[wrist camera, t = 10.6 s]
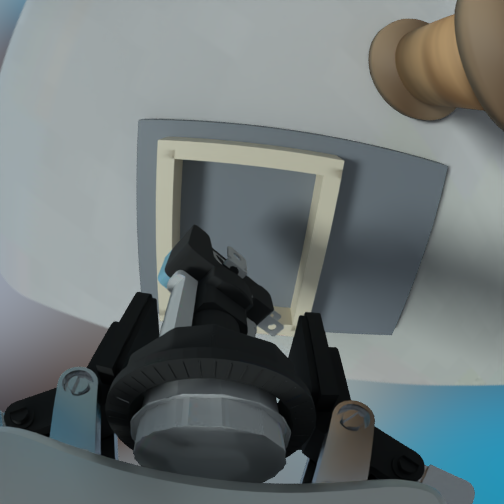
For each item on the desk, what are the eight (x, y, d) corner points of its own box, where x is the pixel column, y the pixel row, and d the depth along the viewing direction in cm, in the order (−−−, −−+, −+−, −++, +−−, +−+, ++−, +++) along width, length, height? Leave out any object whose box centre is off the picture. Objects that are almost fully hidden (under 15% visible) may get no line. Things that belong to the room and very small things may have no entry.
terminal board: (439, 162, 18) (463, 173, 15) (387, 326, 24) (399, 351, 22) (145, 118, 18) (125, 121, 15) (147, 302, 24) (134, 326, 21)
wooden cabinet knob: (460, 43, 14) (572, 30, 4) (451, 131, 17) (568, 167, 7) (372, 8, 14) (462, -56, 4) (362, 104, 17) (463, 109, 7)
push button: (310, 282, 16) (390, 453, 7) (239, 345, 17) (255, 516, 8) (209, 194, 14) (179, 348, 4) (140, 275, 15) (67, 450, 6)
